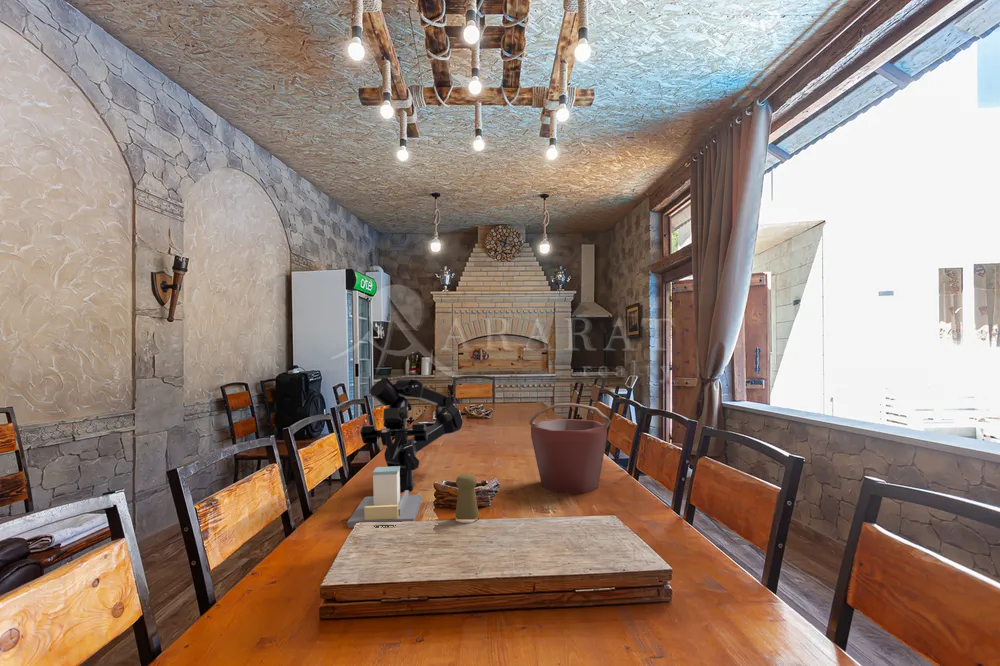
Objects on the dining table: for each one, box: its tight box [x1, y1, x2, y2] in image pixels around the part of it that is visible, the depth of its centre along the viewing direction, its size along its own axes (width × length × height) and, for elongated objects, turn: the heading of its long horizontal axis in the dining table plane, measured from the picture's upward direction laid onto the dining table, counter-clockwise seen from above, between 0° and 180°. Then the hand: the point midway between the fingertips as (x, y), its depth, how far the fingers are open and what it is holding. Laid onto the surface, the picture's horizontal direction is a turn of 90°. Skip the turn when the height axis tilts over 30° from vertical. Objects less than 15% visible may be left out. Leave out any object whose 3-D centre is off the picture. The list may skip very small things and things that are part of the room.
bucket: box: [528, 403, 612, 494], centre depth 148 cm, size 24×22×25 cm
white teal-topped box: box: [372, 466, 401, 506], centre depth 127 cm, size 5×6×10 cm
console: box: [347, 490, 423, 529], centre depth 128 cm, size 20×16×4 cm
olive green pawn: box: [454, 473, 480, 519], centre depth 122 cm, size 6×6×11 cm
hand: (391, 458), depth 135 cm, fingers closed
